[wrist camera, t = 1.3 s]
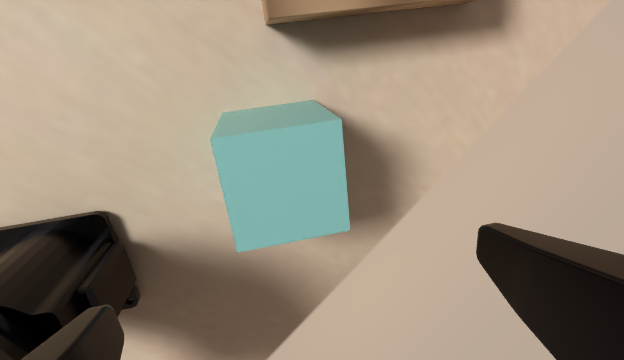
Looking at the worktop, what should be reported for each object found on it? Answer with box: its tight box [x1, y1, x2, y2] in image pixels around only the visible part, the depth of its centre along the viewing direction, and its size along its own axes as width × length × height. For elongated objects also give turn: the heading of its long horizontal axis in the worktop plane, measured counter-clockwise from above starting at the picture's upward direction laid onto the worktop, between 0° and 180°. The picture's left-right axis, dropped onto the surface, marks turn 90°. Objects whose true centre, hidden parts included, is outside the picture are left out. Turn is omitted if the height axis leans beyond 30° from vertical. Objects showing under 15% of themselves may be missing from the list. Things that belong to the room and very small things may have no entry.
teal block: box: [210, 100, 350, 253], centre depth 16 cm, size 5×5×6 cm
